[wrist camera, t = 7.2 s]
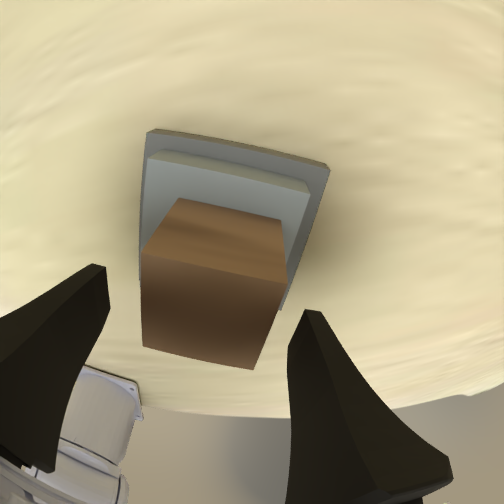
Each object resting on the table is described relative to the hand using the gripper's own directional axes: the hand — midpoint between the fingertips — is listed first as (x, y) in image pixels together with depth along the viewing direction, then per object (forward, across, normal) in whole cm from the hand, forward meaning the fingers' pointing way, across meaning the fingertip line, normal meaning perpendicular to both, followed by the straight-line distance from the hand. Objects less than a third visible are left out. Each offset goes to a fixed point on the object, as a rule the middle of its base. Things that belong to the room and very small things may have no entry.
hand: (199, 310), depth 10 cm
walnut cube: (+4, 0, 0) cm, 4 cm away
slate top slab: (+6, 0, 0) cm, 6 cm away
